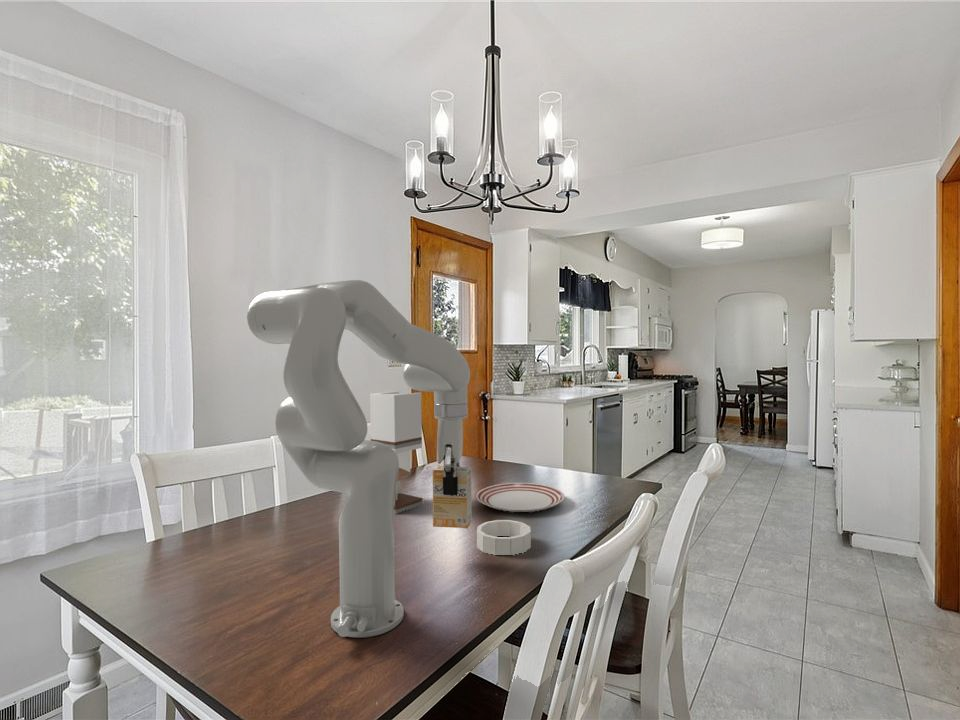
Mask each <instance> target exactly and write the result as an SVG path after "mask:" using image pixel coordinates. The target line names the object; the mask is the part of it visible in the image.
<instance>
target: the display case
mask: <svg viewBox="0 0 960 720" xmlns="http://www.w3.org/2000/svg"><path fill="white" fill-rule="evenodd" d="M369 403H370V404H369V405H370V406H369V409H370V410H369V412H370V413H369V416H370V417H369V418H370V421H369V422H370V441H376V442H380V443H383V444H386V445H388V446H389V447H390V448H392V449H393V450H394V452H395V453H396V455H397V457H398V461H399V473H398V479H397V484H396V490H395V498H394V515H397V514H400V513H403V512H405V510H406V511H409V510H412V509H414V507H415V508H416V507H420V506H423V500H424V499H423V497H419V496H414V495H411V494H406V493H402V492H401V481H402V480H403V479H405V478H407V477H409V476H410V475H411V451H414V450H418V449H422V448H423V440H422V439H423V435H422V434H423V430H422V429H423V427H422V426H423V425H422V418H423V417H422V415H423V413H422V412H423V411H422V392H412V393H411V392H410V393H400V391H398V390H397V391H396V390H395V391H386V392H377V393H376V392H374V393H369ZM408 509H409V510H408ZM402 511H403V512H402Z"/></svg>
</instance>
